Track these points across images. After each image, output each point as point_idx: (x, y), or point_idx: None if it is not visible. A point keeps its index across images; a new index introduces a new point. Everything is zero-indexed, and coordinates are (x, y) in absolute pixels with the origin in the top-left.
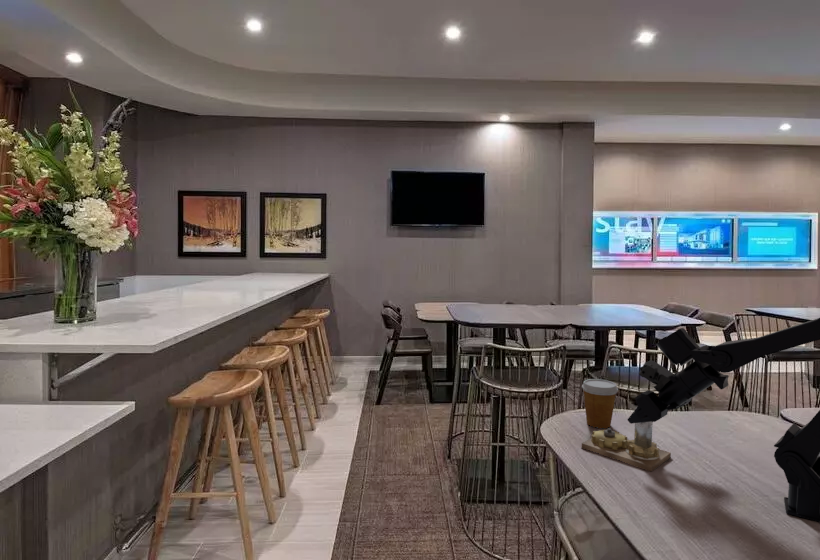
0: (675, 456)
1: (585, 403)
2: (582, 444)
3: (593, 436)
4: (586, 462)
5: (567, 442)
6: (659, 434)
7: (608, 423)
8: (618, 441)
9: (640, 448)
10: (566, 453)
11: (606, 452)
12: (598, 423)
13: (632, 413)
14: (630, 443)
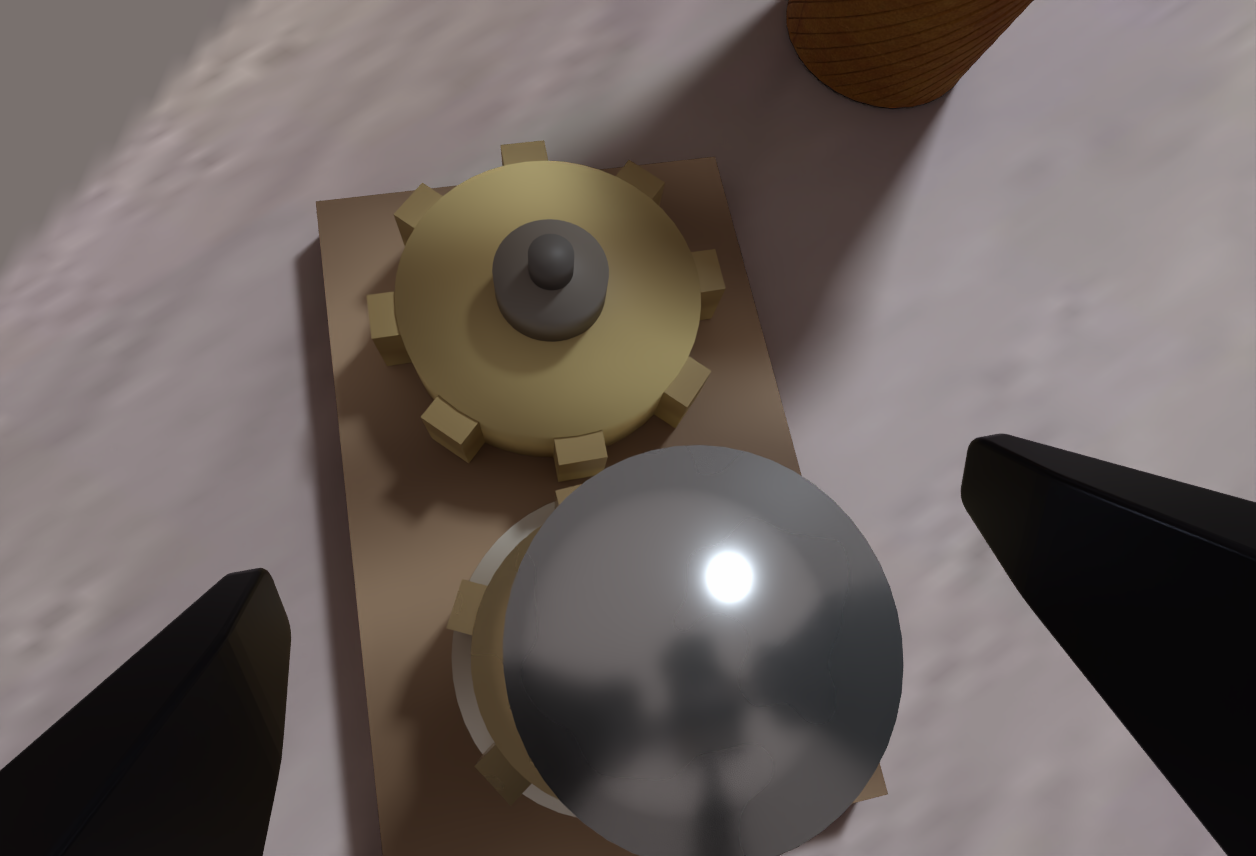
0: (933, 791)
1: None
2: (319, 214)
3: (399, 217)
4: (73, 433)
5: (329, 103)
6: (1195, 406)
7: (907, 81)
8: (498, 429)
9: (489, 711)
10: (106, 227)
11: (342, 436)
12: (822, 39)
13: (33, 743)
14: (519, 557)
